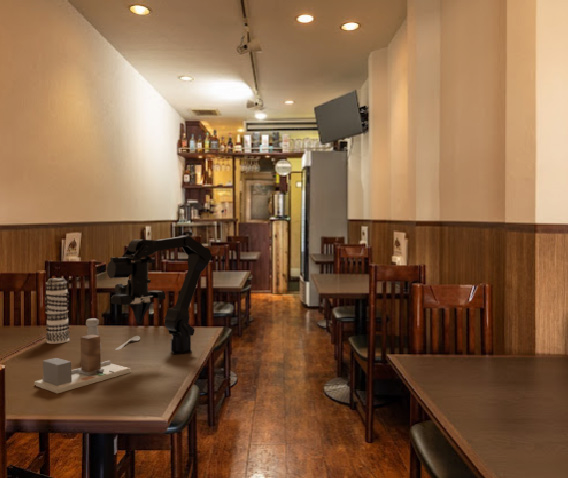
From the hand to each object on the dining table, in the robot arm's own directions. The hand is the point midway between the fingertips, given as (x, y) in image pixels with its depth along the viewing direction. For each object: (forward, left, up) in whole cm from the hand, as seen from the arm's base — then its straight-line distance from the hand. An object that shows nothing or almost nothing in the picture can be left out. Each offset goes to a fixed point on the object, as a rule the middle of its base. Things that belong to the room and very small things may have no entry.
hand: (139, 322), depth 170 cm
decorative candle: (+28, -43, -13) cm, 53 cm away
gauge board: (+17, +14, -13) cm, 26 cm away
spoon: (+3, -26, -14) cm, 30 cm away
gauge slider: (+15, +14, -12) cm, 23 cm away
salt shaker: (+15, -14, -13) cm, 24 cm away
